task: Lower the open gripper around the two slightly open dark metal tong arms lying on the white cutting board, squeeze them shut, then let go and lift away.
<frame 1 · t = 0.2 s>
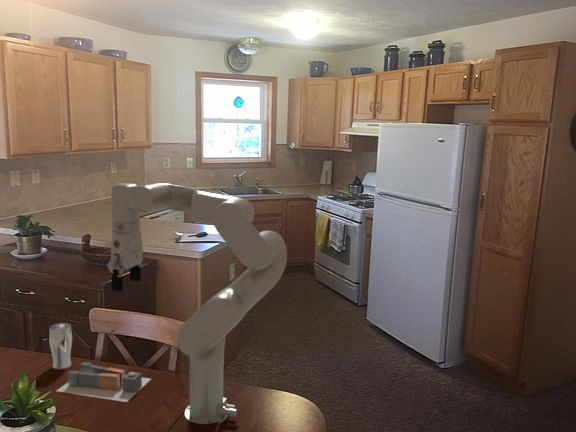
hand: (126, 285, 142), 36 cm above the table, tool pointing down, fingers open, 9 cm apart
tong arm left: (93, 379, 153), point 4 cm above the table, hinge at 6.0°
tong arm right: (102, 373, 158), point 4 cm above the table, hinge at 6.0°
cutting board: (105, 388, 156), on the table
beer glass: (62, 369, 168), on the table
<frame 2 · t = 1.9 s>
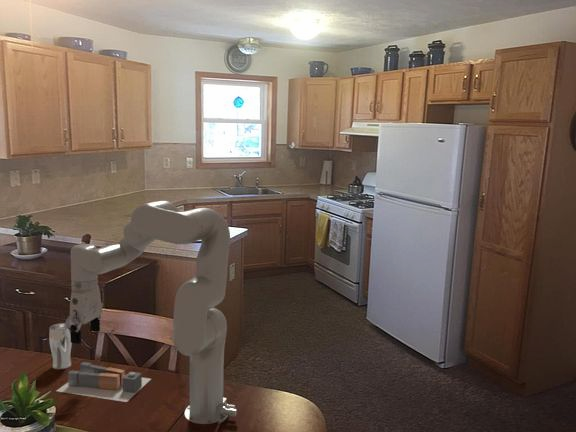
hand: (85, 336, 155), 16 cm above the table, tool pointing down, fingers open, 9 cm apart
nothing on the table moved.
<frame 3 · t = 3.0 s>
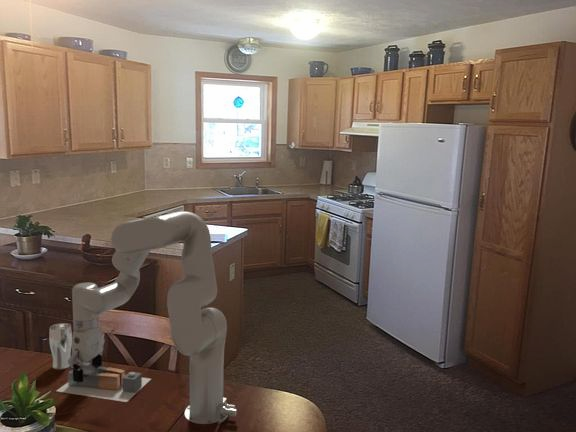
hand: (87, 374, 156), 4 cm above the table, tool pointing down, fingers open, 9 cm apart
nothing on the table moved.
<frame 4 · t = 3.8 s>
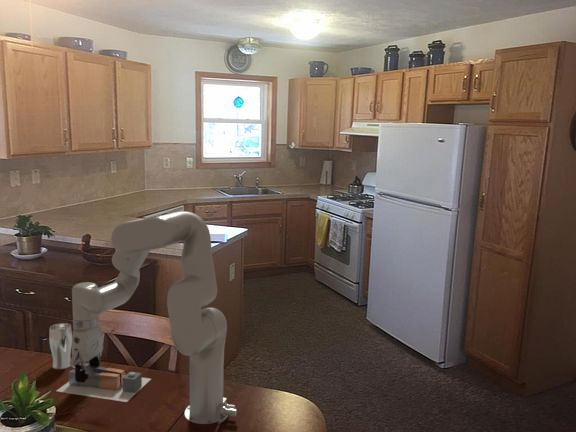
hand: (87, 375, 156), 3 cm above the table, tool pointing down, fingers open, 6 cm apart
tong arm left: (94, 379, 154), point 4 cm above the table, hinge at 4.0°, touching gripper
tong arm right: (101, 373, 157), point 4 cm above the table, hinge at 4.1°, touching gripper
everything else where it was.
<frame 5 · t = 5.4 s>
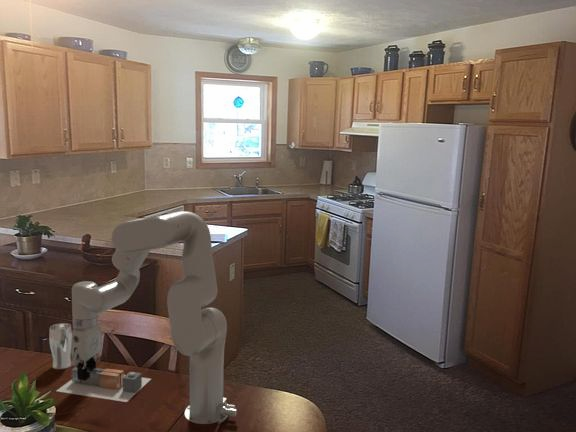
hand: (87, 375, 156), 3 cm above the table, tool pointing down, fingers open, 3 cm apart
tong arm left: (95, 378, 155), point 4 cm above the table, hinge at -1.4°, touching gripper, tong arm right
tong arm right: (99, 375, 157), point 4 cm above the table, hinge at -1.1°, touching gripper, tong arm left
everything else where it was.
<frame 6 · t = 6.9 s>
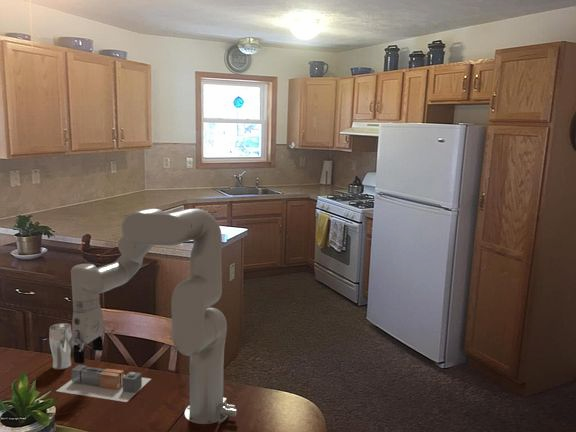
hand: (89, 356, 155), 10 cm above the table, tool pointing down, fingers open, 9 cm apart
tong arm left: (95, 378, 155), point 4 cm above the table, hinge at -1.2°
tong arm right: (99, 375, 157), point 4 cm above the table, hinge at -1.1°
everything else where it was.
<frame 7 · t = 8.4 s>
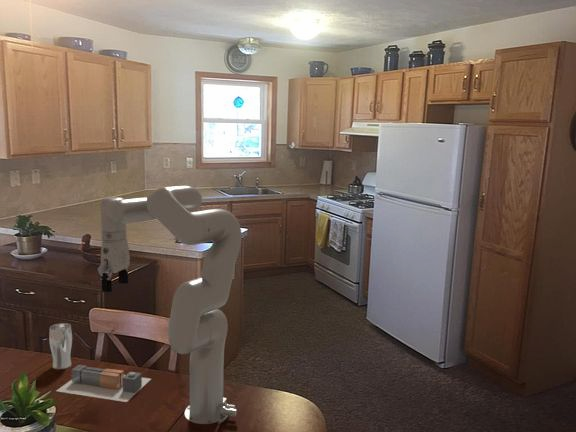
hand: (115, 287, 161), 30 cm above the table, tool pointing down, fingers open, 9 cm apart
nothing on the table moved.
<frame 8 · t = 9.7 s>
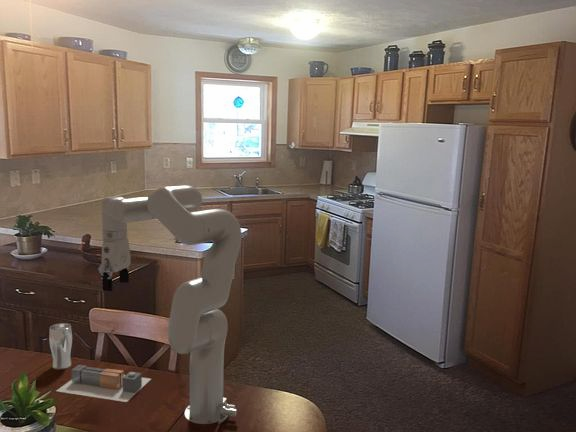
hand: (116, 286, 161), 30 cm above the table, tool pointing down, fingers open, 9 cm apart
nothing on the table moved.
at the end: tong arm left at -1° (first picture: +6°); tong arm right at -1° (first picture: +6°); the gripper is holding nothing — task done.
